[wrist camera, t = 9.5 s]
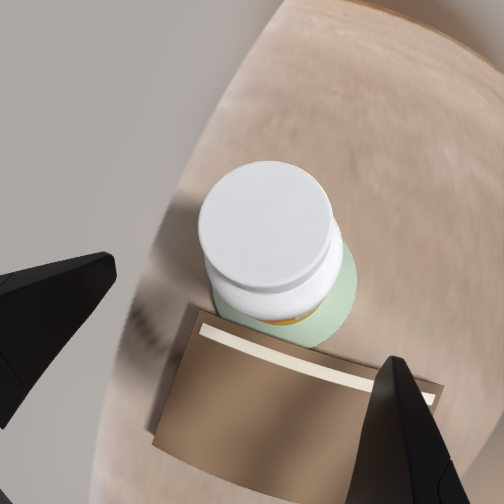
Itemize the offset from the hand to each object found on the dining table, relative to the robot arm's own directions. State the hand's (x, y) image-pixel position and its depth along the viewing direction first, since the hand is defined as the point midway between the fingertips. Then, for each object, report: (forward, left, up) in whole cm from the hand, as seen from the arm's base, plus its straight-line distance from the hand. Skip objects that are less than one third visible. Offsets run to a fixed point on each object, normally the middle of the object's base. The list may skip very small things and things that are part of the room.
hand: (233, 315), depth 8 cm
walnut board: (-7, -2, -10) cm, 12 cm away
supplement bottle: (+3, -1, -9) cm, 10 cm away
